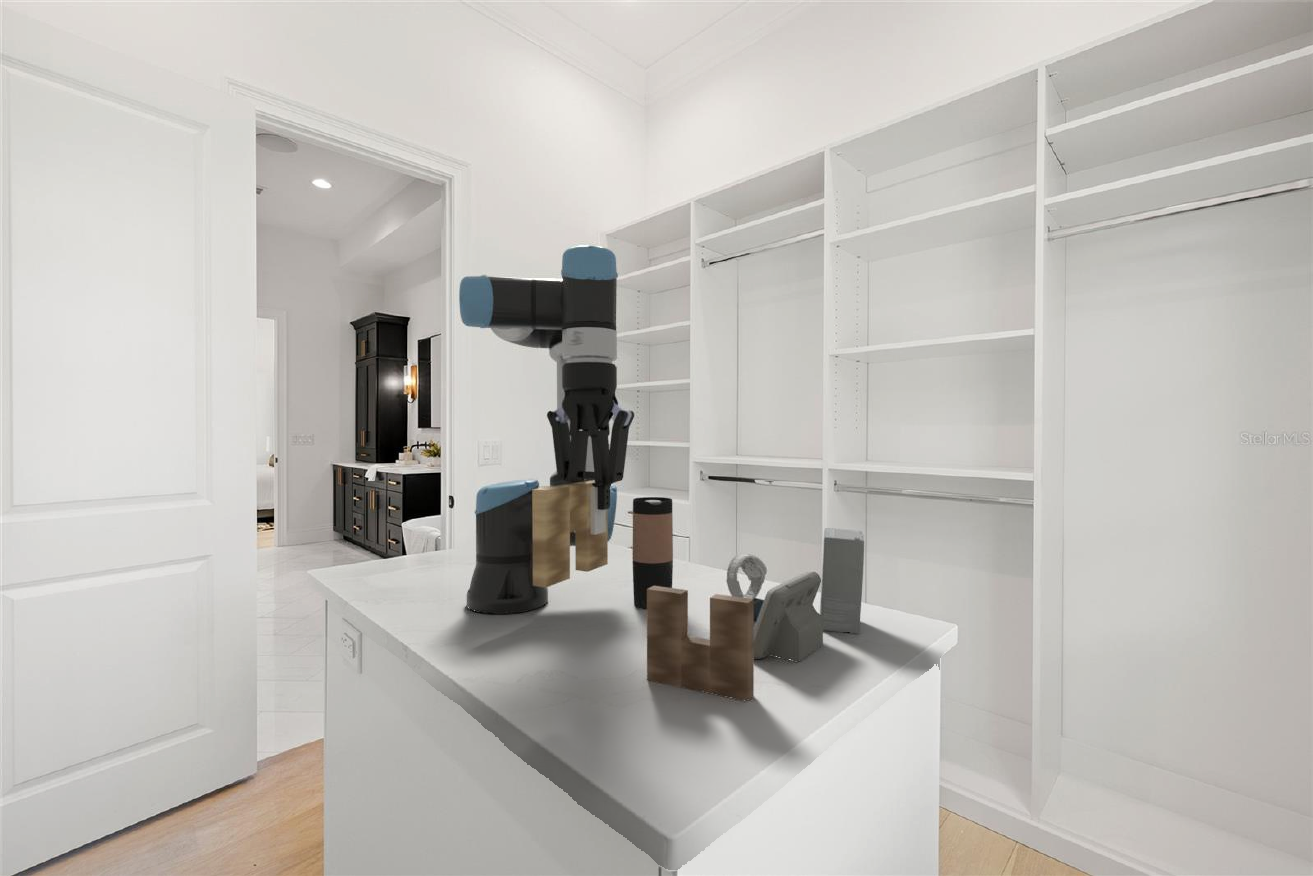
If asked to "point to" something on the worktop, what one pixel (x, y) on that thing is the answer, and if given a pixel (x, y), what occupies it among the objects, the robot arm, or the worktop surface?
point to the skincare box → (842, 580)
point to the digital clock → (789, 620)
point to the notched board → (564, 533)
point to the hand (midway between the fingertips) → (589, 531)
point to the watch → (754, 573)
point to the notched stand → (701, 644)
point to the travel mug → (651, 546)
